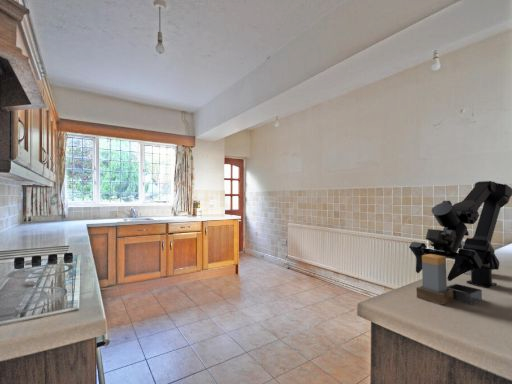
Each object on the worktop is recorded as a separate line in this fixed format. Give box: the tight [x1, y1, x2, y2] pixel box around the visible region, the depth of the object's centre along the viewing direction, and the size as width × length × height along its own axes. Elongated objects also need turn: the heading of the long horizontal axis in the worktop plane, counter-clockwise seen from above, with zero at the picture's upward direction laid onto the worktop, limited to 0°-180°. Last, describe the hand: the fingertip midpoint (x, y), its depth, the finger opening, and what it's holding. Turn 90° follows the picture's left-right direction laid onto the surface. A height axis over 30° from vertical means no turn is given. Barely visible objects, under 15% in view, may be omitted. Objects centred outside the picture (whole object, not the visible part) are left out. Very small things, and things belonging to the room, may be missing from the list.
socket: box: [447, 283, 483, 305], centre depth 82 cm, size 7×7×3 cm
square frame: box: [416, 285, 455, 306], centre depth 82 cm, size 7×7×3 cm
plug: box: [421, 254, 448, 293], centre depth 82 cm, size 4×4×13 cm
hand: (431, 276), depth 81 cm, fingers open, 9 cm apart
